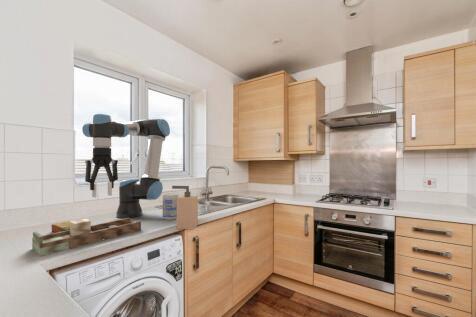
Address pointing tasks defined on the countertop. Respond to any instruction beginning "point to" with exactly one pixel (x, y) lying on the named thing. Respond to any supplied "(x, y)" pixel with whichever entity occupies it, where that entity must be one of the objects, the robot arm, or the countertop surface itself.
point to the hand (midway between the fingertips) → (102, 196)
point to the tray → (82, 236)
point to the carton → (61, 227)
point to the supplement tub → (170, 206)
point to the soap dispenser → (186, 209)
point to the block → (80, 227)
